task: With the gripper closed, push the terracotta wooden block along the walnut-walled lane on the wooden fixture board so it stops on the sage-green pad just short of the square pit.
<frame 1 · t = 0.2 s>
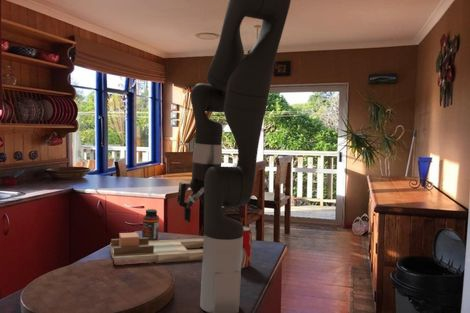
hand: (203, 221, 105), 17 cm above the kitchen island, tool pointing down, fingers open, 8 cm apart
block: (128, 248, 126), point 2 cm above the kitchen island, touching wooden fixture board
wooden fixture board: (128, 256, 126), on the kitchen island
supplement bottle: (149, 240, 146), on the kitchen island
soda can: (239, 266, 123), on the kitchen island
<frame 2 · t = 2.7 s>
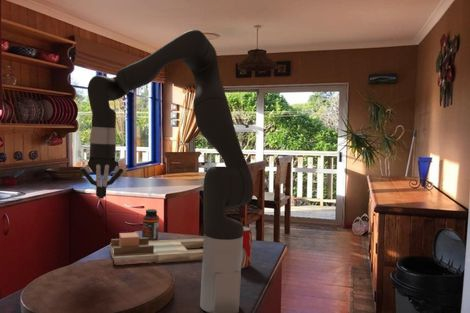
hand: (101, 198, 122), 19 cm above the kitchen island, tool pointing down, fingers closed
nothing on the kitchen island moved.
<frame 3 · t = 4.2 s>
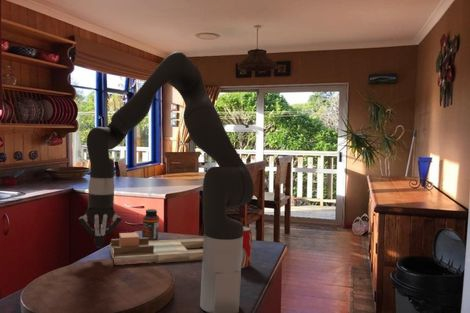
hand: (99, 246, 122), 4 cm above the kitchen island, tool pointing down, fingers closed
nothing on the kitchen island moved.
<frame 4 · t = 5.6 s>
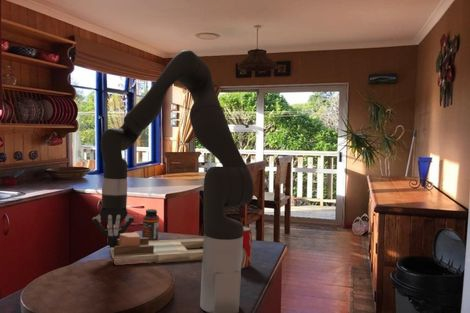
hand: (112, 246, 124), 3 cm above the kitchen island, tool pointing down, fingers closed
block: (129, 248, 126), point 2 cm above the kitchen island, touching wooden fixture board, gripper
everything else where it was.
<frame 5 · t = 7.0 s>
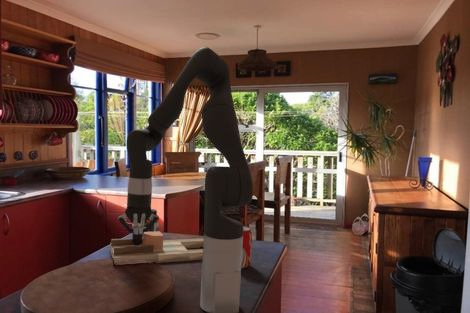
hand: (136, 244, 127), 4 cm above the kitchen island, tool pointing down, fingers closed
block: (152, 247, 129), point 3 cm above the kitchen island, touching wooden fixture board, gripper
everything else where it was.
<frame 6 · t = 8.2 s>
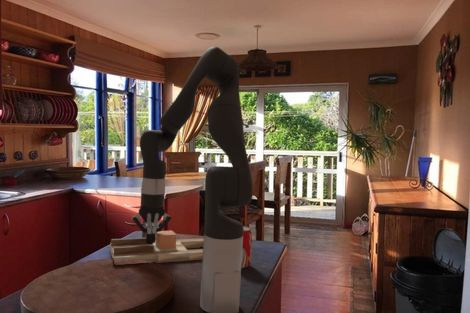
hand: (150, 244, 128), 4 cm above the kitchen island, tool pointing down, fingers closed
block: (165, 246, 131), point 2 cm above the kitchen island, touching wooden fixture board, gripper
everything else where it was.
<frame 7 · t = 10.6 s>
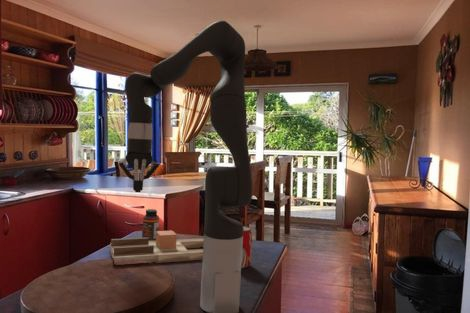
hand: (137, 191, 125), 21 cm above the kitchen island, tool pointing down, fingers closed
block: (165, 246, 131), point 2 cm above the kitchen island, touching wooden fixture board
everything else where it was.
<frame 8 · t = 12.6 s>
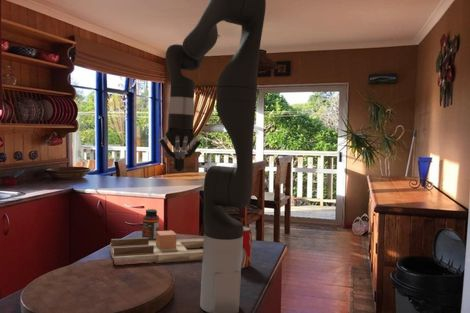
hand: (178, 171, 118), 29 cm above the kitchen island, tool pointing down, fingers closed
nothing on the kitchen island moved.
at the end: block 0.9 cm from the target spot, point 2.5 cm above the kitchen island; block tilted 0° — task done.
